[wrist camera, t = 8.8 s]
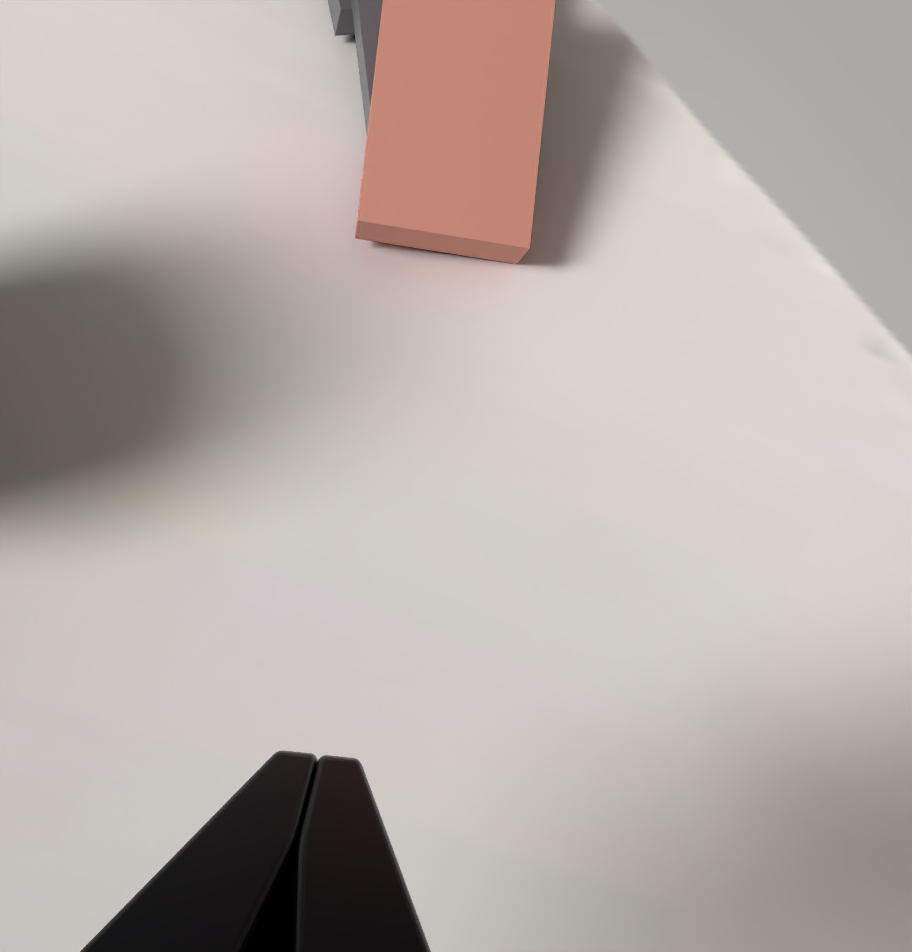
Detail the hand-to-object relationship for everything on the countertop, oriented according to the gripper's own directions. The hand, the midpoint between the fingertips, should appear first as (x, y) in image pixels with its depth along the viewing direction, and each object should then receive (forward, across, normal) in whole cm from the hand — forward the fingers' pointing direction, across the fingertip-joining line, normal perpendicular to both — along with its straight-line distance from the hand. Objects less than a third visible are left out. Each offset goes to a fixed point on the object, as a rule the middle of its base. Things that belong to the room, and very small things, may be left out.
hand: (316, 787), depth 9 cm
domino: (+19, 0, -3) cm, 20 cm away
